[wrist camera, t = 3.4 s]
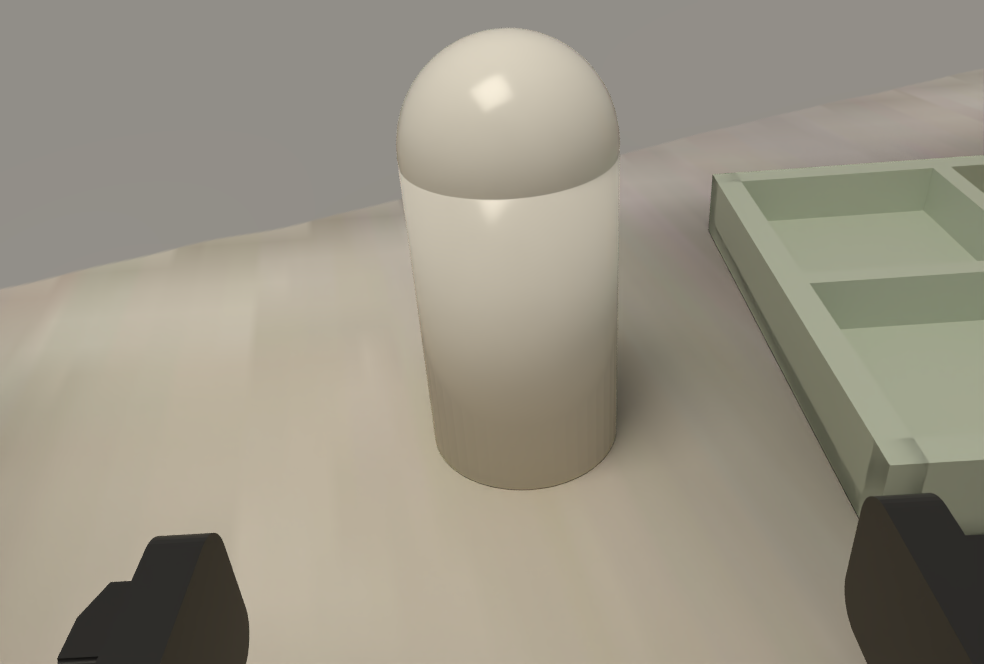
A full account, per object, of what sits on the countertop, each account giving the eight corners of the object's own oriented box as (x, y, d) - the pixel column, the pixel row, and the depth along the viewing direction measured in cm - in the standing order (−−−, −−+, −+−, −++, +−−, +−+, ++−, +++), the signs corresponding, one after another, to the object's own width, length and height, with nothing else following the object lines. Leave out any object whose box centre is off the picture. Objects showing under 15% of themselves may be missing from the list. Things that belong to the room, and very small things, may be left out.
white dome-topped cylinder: (431, 495, 21) (368, 73, 15) (438, 379, 25) (391, 13, 19) (629, 483, 20) (639, 54, 15) (604, 368, 24) (604, -3, 19)
